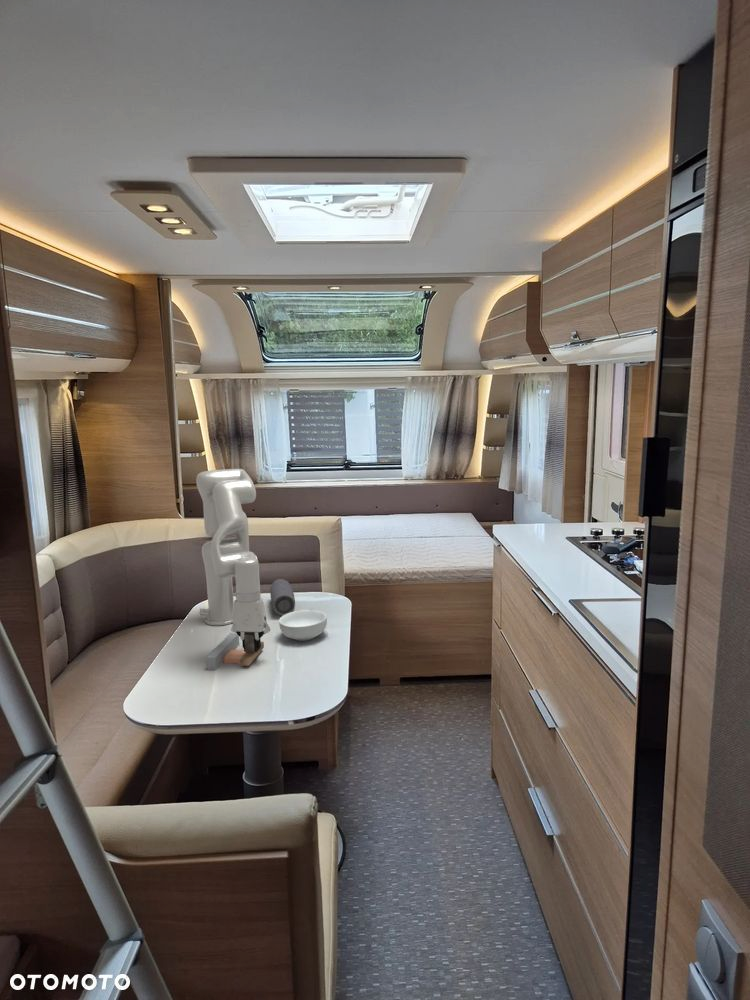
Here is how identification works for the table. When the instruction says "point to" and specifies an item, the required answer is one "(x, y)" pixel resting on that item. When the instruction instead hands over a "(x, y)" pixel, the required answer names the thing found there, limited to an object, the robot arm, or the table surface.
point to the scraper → (250, 649)
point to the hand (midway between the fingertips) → (252, 649)
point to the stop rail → (222, 651)
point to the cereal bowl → (303, 624)
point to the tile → (233, 656)
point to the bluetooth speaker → (282, 597)
